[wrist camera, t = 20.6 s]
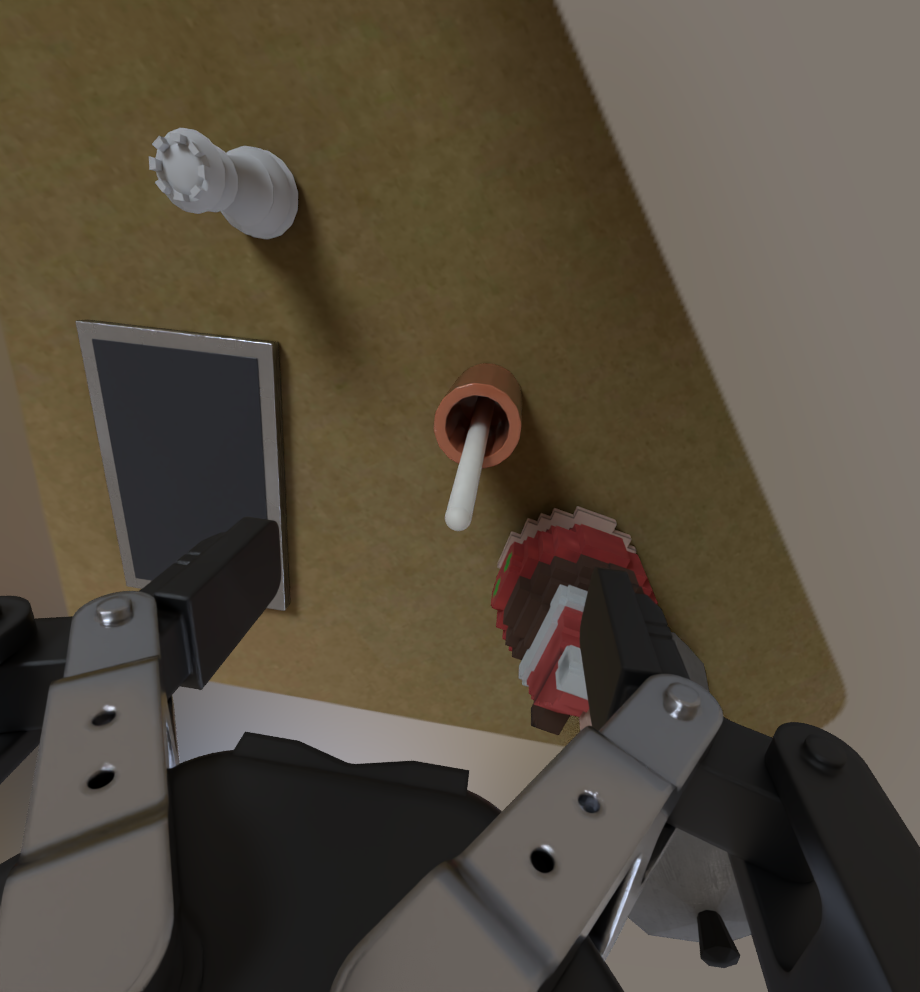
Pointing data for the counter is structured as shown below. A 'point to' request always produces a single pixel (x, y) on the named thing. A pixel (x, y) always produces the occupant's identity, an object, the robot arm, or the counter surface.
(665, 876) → the coffeepot
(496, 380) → the pen cup
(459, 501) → the stylus
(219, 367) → the tablet
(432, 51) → the counter surface
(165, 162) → the rook chess piece
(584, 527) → the cake
